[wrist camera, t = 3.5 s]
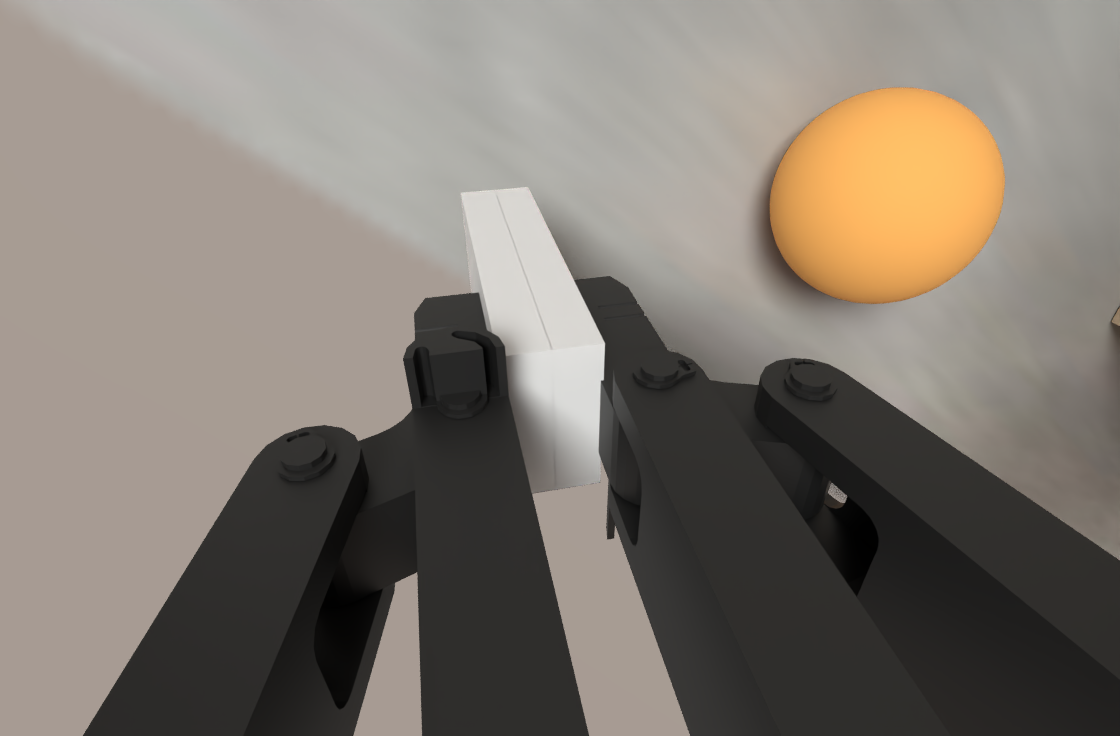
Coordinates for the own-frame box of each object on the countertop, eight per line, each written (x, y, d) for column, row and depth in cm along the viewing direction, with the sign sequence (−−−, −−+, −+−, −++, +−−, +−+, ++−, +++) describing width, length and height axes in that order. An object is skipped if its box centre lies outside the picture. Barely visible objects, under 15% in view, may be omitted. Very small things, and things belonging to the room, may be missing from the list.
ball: (934, 64, 18) (1109, 108, 13) (880, 244, 21) (1006, 329, 16) (753, 74, 17) (875, 125, 12) (724, 260, 20) (814, 354, 16)
